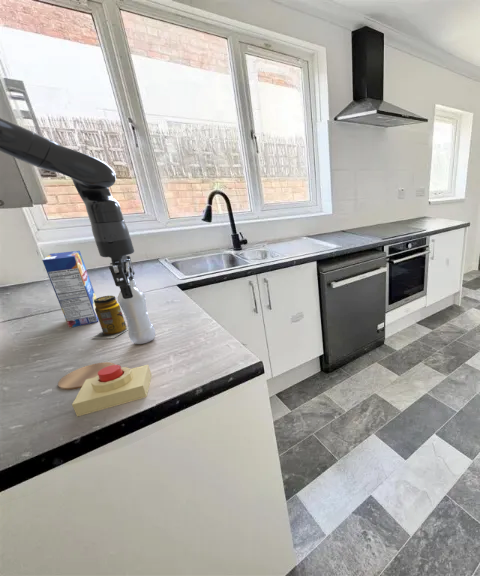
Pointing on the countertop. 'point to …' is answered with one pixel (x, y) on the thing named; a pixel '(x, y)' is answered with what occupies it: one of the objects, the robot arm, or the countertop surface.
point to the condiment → (109, 317)
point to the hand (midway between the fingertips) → (130, 294)
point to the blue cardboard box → (72, 287)
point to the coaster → (81, 376)
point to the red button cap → (110, 373)
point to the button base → (112, 390)
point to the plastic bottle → (137, 315)
